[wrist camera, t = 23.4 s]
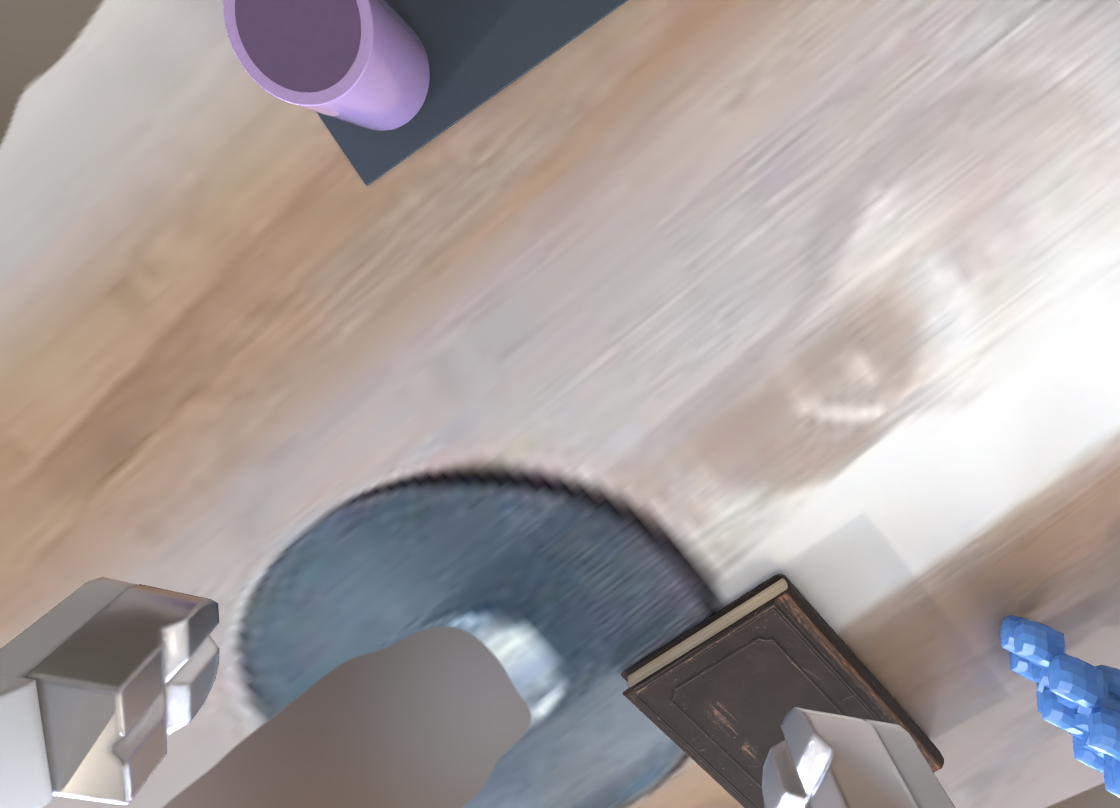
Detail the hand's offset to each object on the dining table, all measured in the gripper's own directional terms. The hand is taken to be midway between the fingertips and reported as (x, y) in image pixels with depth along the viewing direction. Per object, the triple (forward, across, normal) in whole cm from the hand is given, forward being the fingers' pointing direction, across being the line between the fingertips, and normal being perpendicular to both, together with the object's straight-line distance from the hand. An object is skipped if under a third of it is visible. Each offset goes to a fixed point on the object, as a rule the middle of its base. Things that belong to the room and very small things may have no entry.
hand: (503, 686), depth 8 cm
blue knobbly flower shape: (+31, -42, +18) cm, 55 cm away
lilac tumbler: (+31, +13, -11) cm, 35 cm away
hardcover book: (+31, -25, +30) cm, 50 cm away
